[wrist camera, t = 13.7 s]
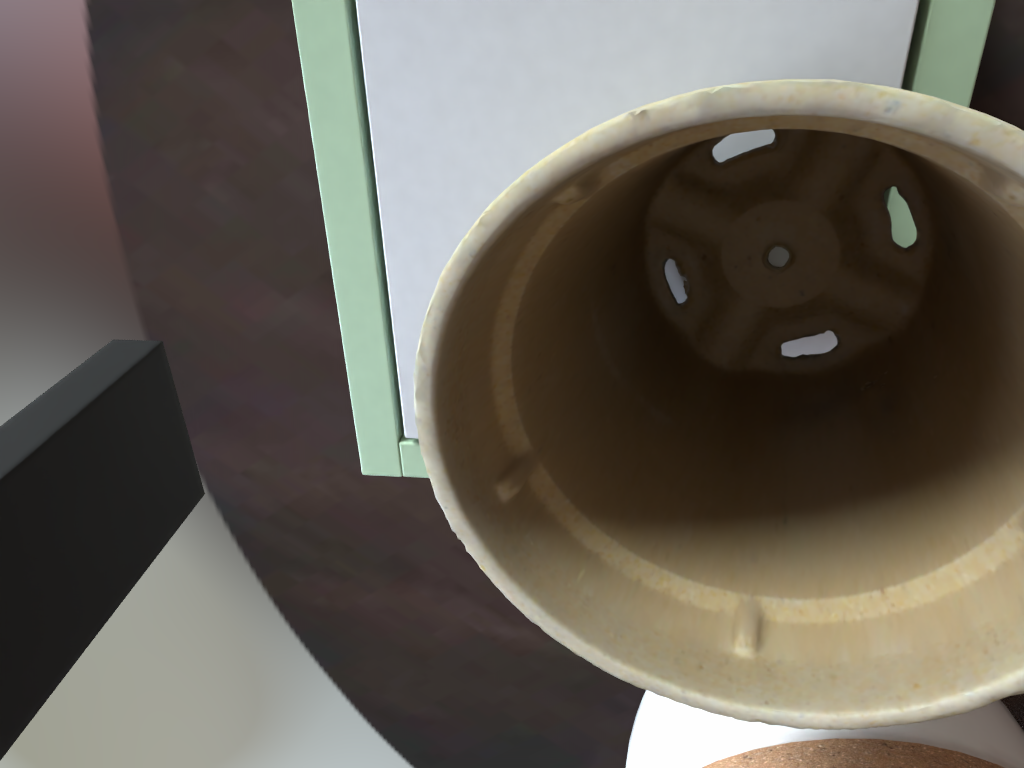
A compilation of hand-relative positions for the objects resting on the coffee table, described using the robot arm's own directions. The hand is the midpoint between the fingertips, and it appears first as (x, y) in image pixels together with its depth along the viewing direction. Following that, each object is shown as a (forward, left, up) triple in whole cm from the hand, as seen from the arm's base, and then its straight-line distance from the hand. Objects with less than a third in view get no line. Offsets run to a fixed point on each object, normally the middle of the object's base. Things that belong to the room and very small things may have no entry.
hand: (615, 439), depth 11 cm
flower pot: (0, +3, -8) cm, 9 cm away
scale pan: (0, 0, -10) cm, 10 cm away
